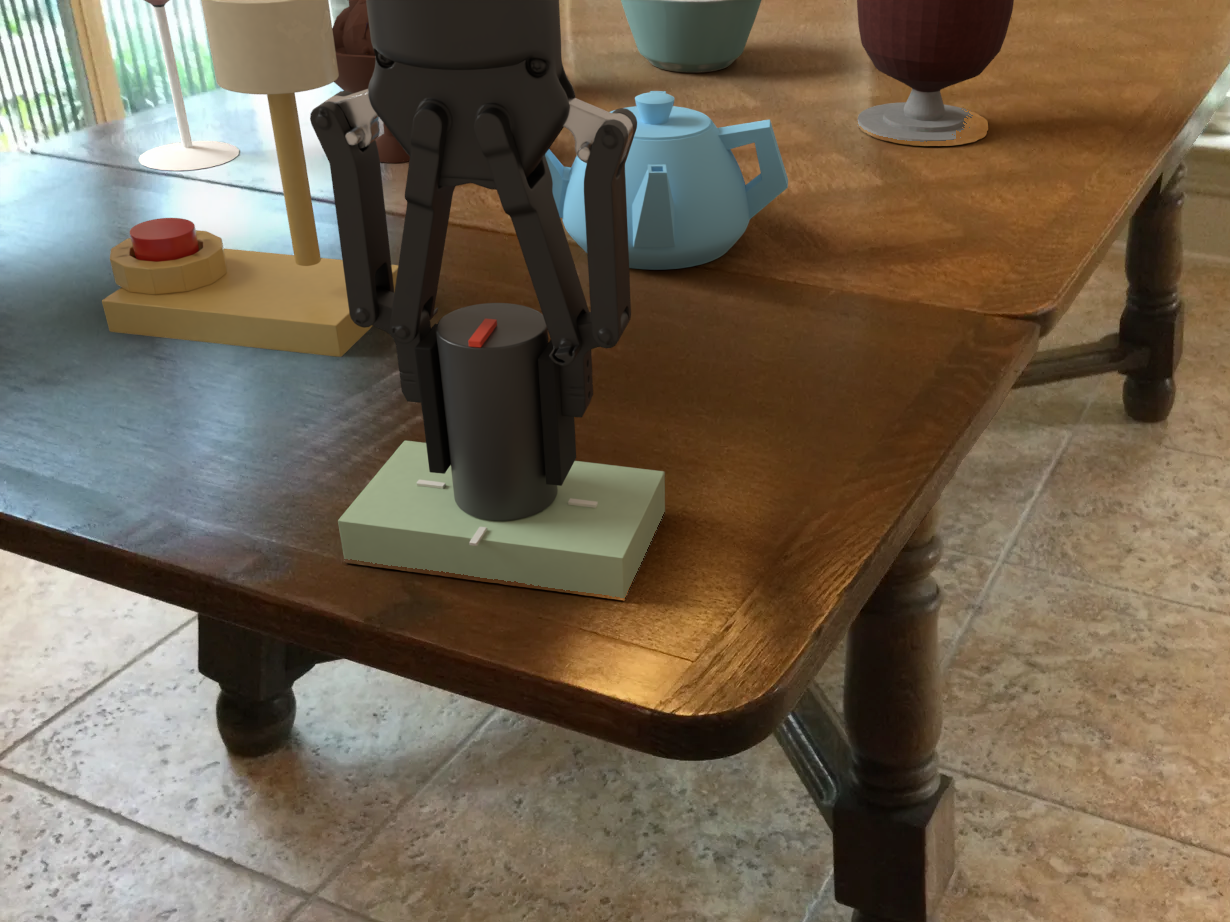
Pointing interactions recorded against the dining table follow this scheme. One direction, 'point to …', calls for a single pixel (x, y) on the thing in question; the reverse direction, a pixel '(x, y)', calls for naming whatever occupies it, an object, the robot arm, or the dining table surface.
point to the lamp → (278, 83)
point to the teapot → (679, 185)
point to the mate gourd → (928, 59)
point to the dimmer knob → (494, 409)
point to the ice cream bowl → (361, 67)
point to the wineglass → (181, 119)
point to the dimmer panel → (509, 527)
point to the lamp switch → (164, 239)
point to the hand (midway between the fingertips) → (503, 464)
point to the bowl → (691, 32)
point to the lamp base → (234, 299)
